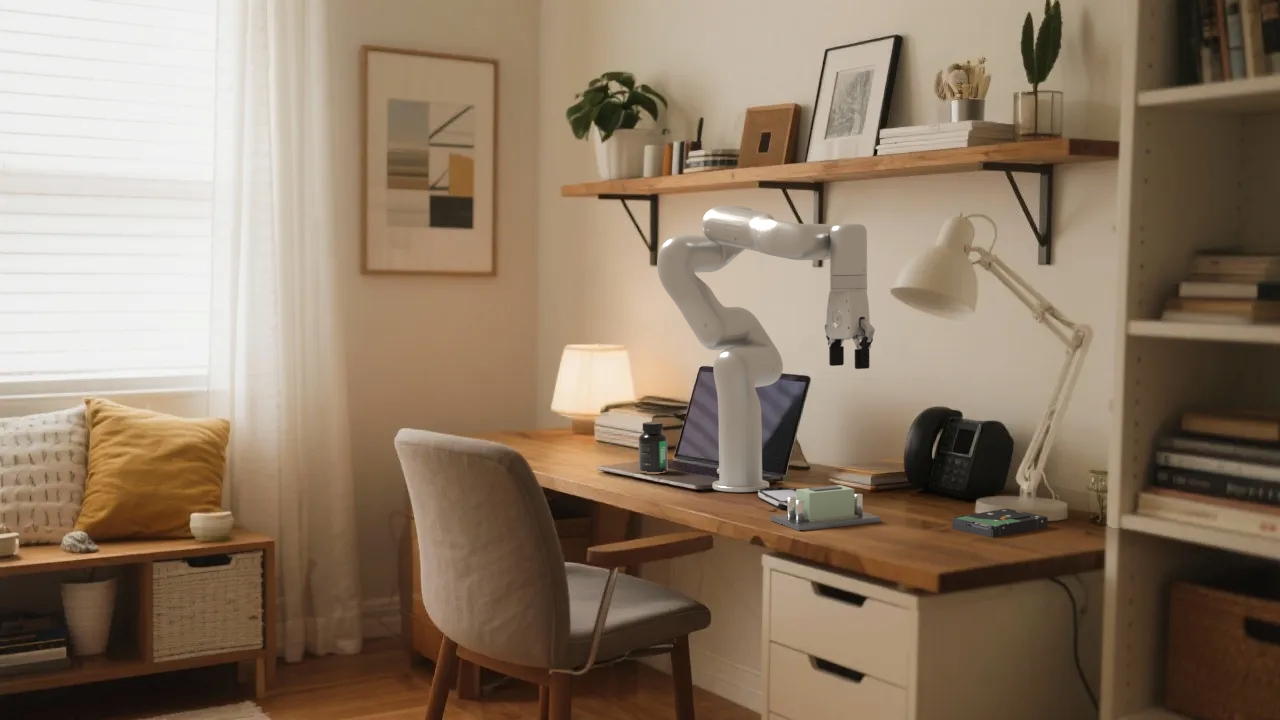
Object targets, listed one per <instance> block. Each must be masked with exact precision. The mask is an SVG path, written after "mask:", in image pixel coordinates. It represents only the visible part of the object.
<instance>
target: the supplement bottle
mask: <svg viewBox="0 0 1280 720" xmlns="http://www.w3.org/2000/svg"><path fill="white" fill-rule="evenodd" d="M663 426H664V424H663V422H661V421H660V422H659V421H649V422H648V421H647V422H643V423H642V434H640V435H639V437H638V470H641V471H647V472H663V471H667V472H668V470H669V469H668V437H667V435H666V434H664V433H663V431H664V427H663Z"/></svg>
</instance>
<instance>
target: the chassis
mask: <svg viewBox="0 0 1280 720" xmlns="http://www.w3.org/2000/svg"><path fill="white" fill-rule="evenodd" d="M863 495H864V494H862V493H854V515H845V516H836V517H827V518H817V519H807V518H804V500H802V499H798V500H796V497H787V504H788V510H787V513H786V514H775V515H770V522H772V521H774V522H773V523H775V522H777V523H776V524H778V523H779V525H781V524H783V525H782V526H784V525H785V526H784V527H786V526H788V527H787V528H789V527H791V528H790V529H792V528H793V529H792V530H795V529H796V530H795V531H798V530H799V531H798V532H801V531H800V530H804V531H811V530H812V531H813V530H821V529H829V528H838V527H839V528H840V527H848V526H855V525H856V526H858V525H866V524H876V523H881V519H882V518H881V516H878V515H875V514H872V513H869V512H865V511H864V510H863V509H864V508H863V506H864V505H863Z"/></svg>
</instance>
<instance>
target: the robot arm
mask: <svg viewBox="0 0 1280 720" xmlns="http://www.w3.org/2000/svg"><path fill="white" fill-rule="evenodd" d="M701 230H702V232H703V235H701V234H700V235H699V234H698V235H697V234H696V235H695V234H694V235H693V234H692V235H691V234H690V235H689V234H688V235H687V234H686V235H684V234H683V235H678V236H674V237H671V238H669V239H667V240H666V241H664V243H663V244H662V245H661V247H660V248H659V252H658V255H657V260H656V261H657V263H656V268H657V269H656V270H657V274H658V277H659V281H660V282H661V285H662V286H663V288H664V290H665V291H666V294H668V296H669V297H670V298H671V300H672V301H673V302H674V304H675V305H676V306H677V307H678V309H679V311H680V313H681V314H682V316H683V317H684V319H685V321H686V322H687V324H688V326H689V327H690V329H691V330H692V332H693V333H694V335H695V337H696V338H697V340H698V341H699V343H700V344H701V345H702V346H703V347H704V348H705V349H707V350H710V351H721V352H720V353H719V354H718V355H717V356H716V358H715V359H714V362H713V379H714V383H715V390H716V396H717V406H718V407H717V412H718V413H717V414H718V416H717V417H718V468H717V469H716V473H717V474H719V478H718V479H719V480H715V481H713V482H712V489H713V490H714V491H719V492H727V493H754V492H758V490H759V489H763V488H766V487H769V488H770V482H769V481H767V480H765V479H763V450H762V448H763V444H762V443H763V442H762V440H763V438H762V436H763V435H762V433H763V432H762V431H763V429H762V425H763V424H762V423H763V422H762V406H761V401H760V398H759V396H758V393H757V390H756V388H760V387H767V386H770V385H773V384H775V383H776V382H777V381H779V380H780V379H781V376H782V374H783V370H784V369H783V368H784V366H783V365H784V364H783V359H782V356H781V353H780V352H779V350H778V348H777V347H776V345H775V344H774V342H773V341H772V339H771V337H770V336H769V334H768V333H767V331H766V329H765V328H764V326H763V325H762V324H761V322H760V321H759V320H758V318H757V317H756V316H755V315H754V313H753V312H751V311H749V310H748V309H746V308H744V307H740V306H724V305H723V304H722V303H721V302H720V300H718V298H717V296H715V294H714V292H713V290H712V288H710V286H709V285H708V284H707V283H706V282H705V281H703V280H702V279H701V278H700V277H699V276H698V275H697V273H712V272H713V273H714V272H717V271H719V270H721V269H723V268H724V267H726V266H727V265H728V264H730V262H732V261H733V260H734V259H735V258H737V257H738V256H739V255H740V254H741V253H742V252H743V251H745V250H749V251H754V252H759V254H760V253H761V254H765V255H768V256H772V257H777V258H783V259H789V260H795V261H824V260H825V261H827V260H830V261H829V265H830V266H829V267H830V268H829V269H830V270H829V272H830V273H829V274H830V275H829V281H830V283H829V285H830V286H829V287H830V290H829V293H828V299H827V306H826V322H825V323H826V324H825V325H824V331H825V333H826V335H825V337H826V339H827V346H828V350H829V355H828V356H829V359H828V361H829V364H828V365H829V366H831V367H835V366H836V367H838V366H843V365H844V364H845V363H844V362H845V354H844V353H845V351H844V349H845V348H844V345H843V343H844V340H846V341H849V340H852V341H853V343H854V345H855V347H856V348H855V349H854V369H856V370H861V369H862V370H865V369H866V370H867V369H870V349H871V347H872V343H873V340H874V334H875V330H876V329H875V327H874V326H873V325H872V324H871V321H870V320H871V318H870V306H869V299H868V298H869V297H868V231H867V228H866V226H865V225H863V224H861V223H839V224H827V223H796V222H789V221H783V220H777V219H775V218H774V216H772V215H771V213H768V212H763V211H758V210H757V211H756V210H753V209H751V208H749V207H747V206H735V205H732V206H731V205H719V206H715V207H712V208H710V209H708V211H707V212H706V213H705V214H704V215H703V217H702V219H701ZM722 350H723V351H722Z"/></svg>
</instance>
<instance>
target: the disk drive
mask: <svg viewBox="0 0 1280 720" xmlns="http://www.w3.org/2000/svg"><path fill="white" fill-rule="evenodd" d="M951 520H952V521H951V526H952V528H951V529H953V530H955V531H956V530H957V531H961V532H965V533H970V534H974V535H979V536H984V537H987V538H993V539H994V538H998V537H1003V536H1009V535H1014V534H1020V533H1027V532H1032V531H1037V530H1038V531H1039V530H1043V529H1048V523H1049V522H1048V516H1045V515H1041V514H1040V515H1039V514H1036V513H1031V512H1025V511H1023V512H1018V511H1017V510H1015V509H1010V508H1001V509H996V510H990V511H984V512H978V513H977V512H976V513H970V514H965V515H959V516H953V517H952V519H951Z"/></svg>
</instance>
